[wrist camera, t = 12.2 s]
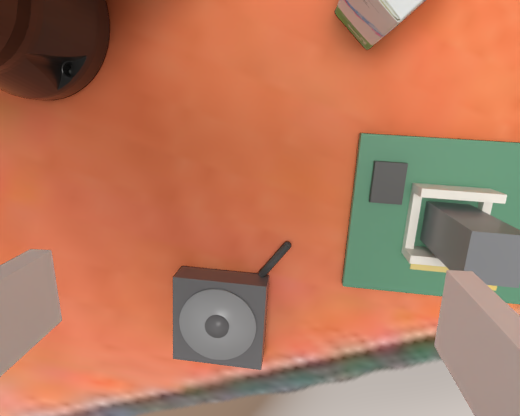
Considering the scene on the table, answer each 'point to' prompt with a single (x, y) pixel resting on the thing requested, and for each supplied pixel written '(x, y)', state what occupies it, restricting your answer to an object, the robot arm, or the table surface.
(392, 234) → the board
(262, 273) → the rod
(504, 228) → the plug
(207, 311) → the speaker
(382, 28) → the ink box
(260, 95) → the table surface
